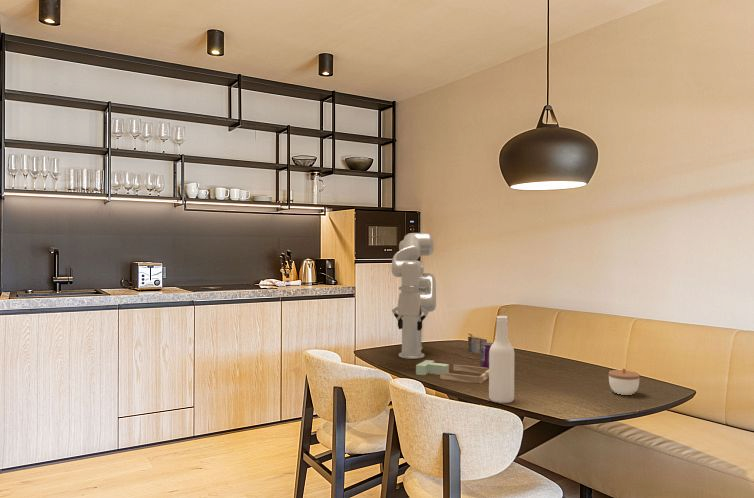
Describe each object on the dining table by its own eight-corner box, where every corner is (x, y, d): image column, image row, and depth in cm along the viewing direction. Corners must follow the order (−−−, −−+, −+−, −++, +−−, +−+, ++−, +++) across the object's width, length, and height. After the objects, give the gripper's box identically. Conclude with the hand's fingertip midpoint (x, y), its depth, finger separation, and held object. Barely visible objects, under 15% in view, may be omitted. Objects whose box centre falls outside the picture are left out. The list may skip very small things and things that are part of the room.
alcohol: (491, 403, 200) (492, 318, 200) (486, 396, 209) (487, 314, 209) (516, 403, 201) (517, 318, 200) (510, 396, 209) (511, 314, 209)
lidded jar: (646, 396, 210) (646, 371, 210) (621, 398, 207) (621, 372, 207) (625, 389, 221) (625, 365, 220) (602, 391, 218) (602, 366, 217)
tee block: (442, 377, 239) (442, 368, 238) (416, 374, 244) (416, 365, 244) (451, 371, 249) (451, 362, 249) (426, 368, 255) (426, 359, 254)
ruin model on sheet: (467, 351, 296) (467, 332, 296) (471, 351, 298) (471, 332, 298) (482, 355, 287) (482, 336, 287) (486, 354, 289) (487, 335, 288)
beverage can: (496, 373, 246) (496, 345, 246) (479, 372, 248) (480, 344, 248) (496, 369, 253) (496, 342, 253) (480, 368, 255) (480, 342, 254)
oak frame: (454, 370, 252) (454, 364, 252) (492, 374, 245) (492, 368, 245) (440, 379, 236) (440, 373, 236) (481, 383, 228) (481, 377, 228)
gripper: (388, 289, 251) (388, 329, 252) (425, 291, 244) (425, 332, 244) (395, 288, 258) (395, 327, 258) (431, 290, 251) (431, 329, 251)
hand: (409, 329), depth 251 cm, fingers open, 8 cm apart
